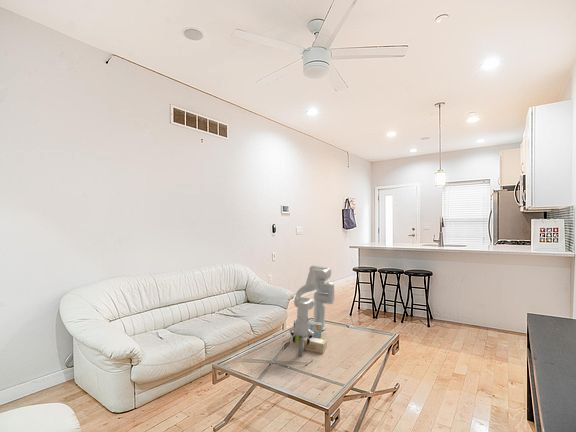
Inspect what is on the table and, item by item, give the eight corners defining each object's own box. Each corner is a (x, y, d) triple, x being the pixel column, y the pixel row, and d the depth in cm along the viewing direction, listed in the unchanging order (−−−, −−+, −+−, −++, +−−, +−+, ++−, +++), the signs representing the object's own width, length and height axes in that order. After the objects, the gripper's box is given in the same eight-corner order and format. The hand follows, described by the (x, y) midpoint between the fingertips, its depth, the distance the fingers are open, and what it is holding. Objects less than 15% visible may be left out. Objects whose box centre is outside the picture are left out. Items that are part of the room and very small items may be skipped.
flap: (300, 347, 231) (301, 332, 230) (303, 348, 230) (304, 332, 230) (298, 356, 218) (299, 339, 218) (302, 356, 218) (303, 339, 218)
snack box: (320, 341, 244) (321, 322, 243) (320, 344, 238) (321, 325, 238) (293, 338, 246) (294, 319, 246) (292, 342, 241) (293, 322, 240)
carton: (305, 343, 238) (306, 335, 238) (326, 348, 232) (326, 340, 232) (302, 348, 231) (302, 339, 231) (323, 353, 225) (323, 344, 224)
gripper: (315, 318, 220) (314, 342, 221) (291, 315, 224) (290, 339, 225) (313, 322, 213) (312, 347, 214) (288, 319, 217) (287, 343, 218)
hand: (300, 343), depth 219 cm, fingers open, 9 cm apart
